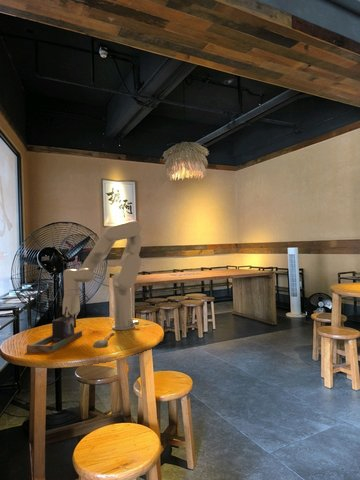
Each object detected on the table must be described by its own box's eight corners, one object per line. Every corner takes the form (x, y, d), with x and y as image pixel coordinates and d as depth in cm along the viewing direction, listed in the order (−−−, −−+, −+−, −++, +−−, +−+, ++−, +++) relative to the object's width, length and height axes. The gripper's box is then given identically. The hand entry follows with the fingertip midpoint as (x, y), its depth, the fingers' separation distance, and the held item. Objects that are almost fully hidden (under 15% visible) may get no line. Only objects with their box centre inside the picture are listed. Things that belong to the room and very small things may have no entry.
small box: (63, 342, 154) (63, 320, 154) (51, 342, 155) (51, 320, 155) (75, 336, 164) (74, 316, 164) (63, 336, 166) (63, 316, 166)
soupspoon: (90, 350, 143) (104, 351, 143) (90, 343, 143) (104, 344, 143) (106, 335, 165) (119, 336, 165) (106, 329, 165) (119, 329, 165)
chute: (82, 335, 166) (81, 329, 166) (50, 352, 139) (50, 345, 139) (61, 335, 168) (61, 329, 168) (26, 352, 141) (26, 345, 141)
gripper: (72, 290, 177) (73, 324, 176) (56, 294, 162) (57, 331, 162) (85, 290, 175) (86, 324, 175) (70, 294, 161) (71, 331, 160)
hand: (72, 327), depth 168 cm, fingers closed
